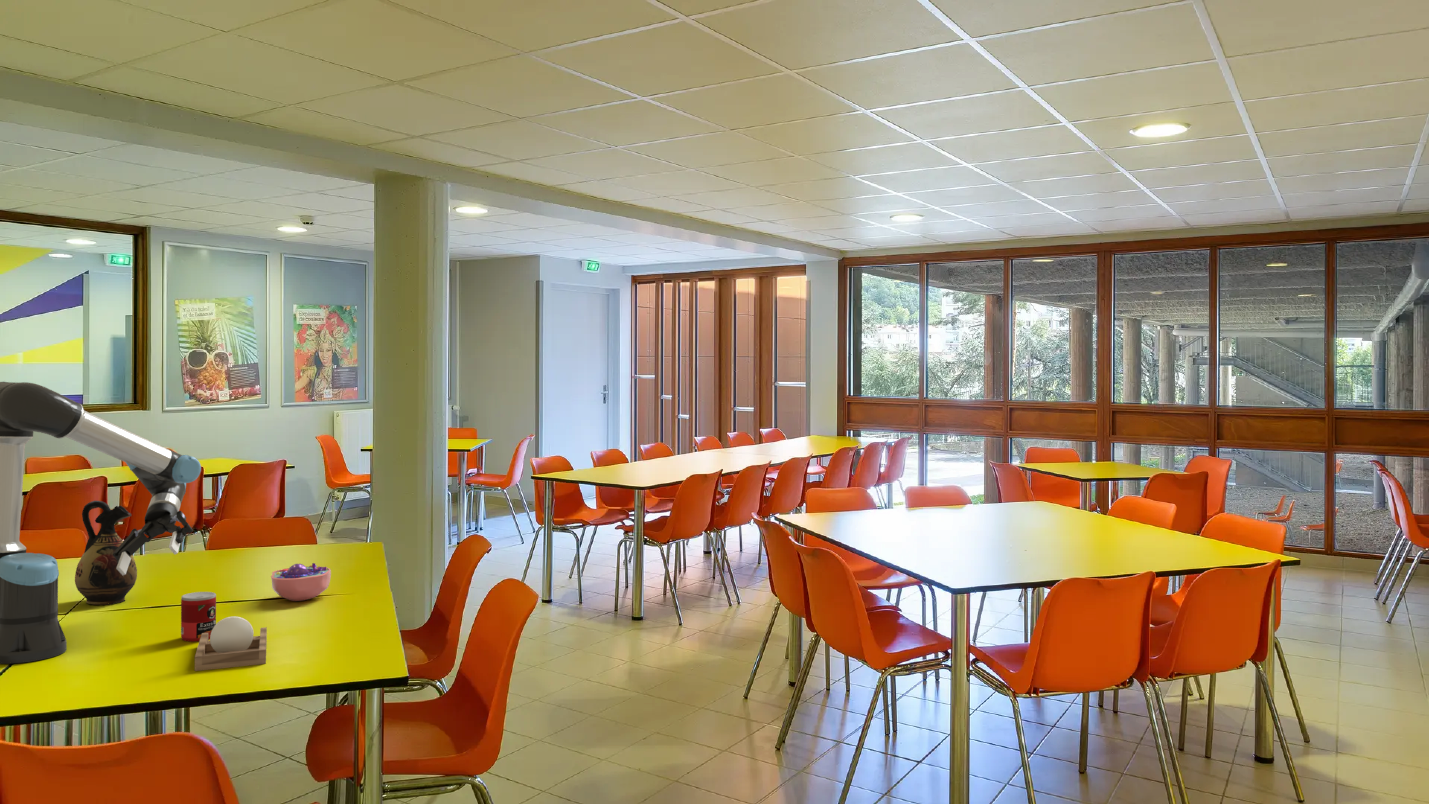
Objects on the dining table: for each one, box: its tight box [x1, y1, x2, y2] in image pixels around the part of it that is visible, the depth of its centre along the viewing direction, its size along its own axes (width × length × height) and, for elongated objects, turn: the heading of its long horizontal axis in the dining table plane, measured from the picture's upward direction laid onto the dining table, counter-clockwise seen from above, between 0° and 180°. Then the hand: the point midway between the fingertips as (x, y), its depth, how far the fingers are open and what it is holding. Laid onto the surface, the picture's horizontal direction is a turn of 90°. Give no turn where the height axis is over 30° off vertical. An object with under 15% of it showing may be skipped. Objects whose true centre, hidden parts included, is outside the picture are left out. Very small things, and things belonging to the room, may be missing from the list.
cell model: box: [270, 562, 332, 602], centre depth 279 cm, size 17×20×11 cm
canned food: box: [180, 591, 217, 643], centre depth 234 cm, size 8×8×11 cm
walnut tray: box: [194, 626, 268, 672], centre depth 220 cm, size 22×14×3 cm, turn 26°
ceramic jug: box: [74, 500, 138, 606], centre depth 272 cm, size 17×15×30 cm
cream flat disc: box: [209, 615, 255, 653], centre depth 216 cm, size 1×9×9 cm, turn 116°
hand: (147, 560), depth 237 cm, fingers open, 13 cm apart
